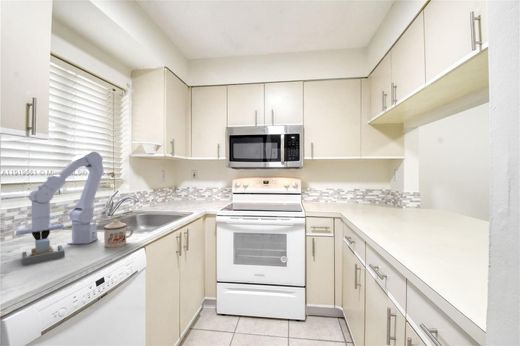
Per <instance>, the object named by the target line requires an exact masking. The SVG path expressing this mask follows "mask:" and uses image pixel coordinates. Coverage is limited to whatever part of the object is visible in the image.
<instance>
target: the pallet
mask: <svg viewBox="0 0 520 346" xmlns="http://www.w3.org/2000/svg"><path fill="white" fill-rule="evenodd" d="M30 252H31V256H35V255H40V254H45V253H50V252H54V249H53V247H52V245H50V250H46V251H41V252H36V250H35V248H31V251H30Z"/></svg>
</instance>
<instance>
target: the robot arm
mask: <svg viewBox="0 0 520 346" xmlns="http://www.w3.org/2000/svg"><path fill="white" fill-rule="evenodd" d="M81 167H85V168H86V169H87V170H88V172H89V173H88V177H87V178H86V181H85V184H84V187H83V189H82V193H81V195H80V198H79V200H78V203H76V204H75V205H74V208H73V209H72V210H71V211H70V213H69V215H68V217H69V220H70V221H71V241H68V242H67V243H66V244H67V245H73V244H74V245H77V244H78V245H79V244H83V245H84V244H85V245H86V244H89V243H92V242H94V241H96V240H98V239H99V238H98V225H97V224H96V223H94V222H91V221H93V218H94V206H93V202H94V200H95V197H96V193H97V191H98V189H99V185H100V182H101V179H102V176H103V173H104V166H103V157H102V156H101V154H100V153H99V152H97V151H82V152H80V153H78V155H76V156H74V157H73V159H72V160H71V161H70V162H69V163H68V164H67V165H66V166H65V167H64V168H63V169H62V170H61V171H60V172H59V173H58V174H52V175H51V176H50V175H49V176H47V178H46V179H47V180H45V181H44V182H43V183H42V184H41V185H37V188H36V189H33V190H32V191H31V192H30V194H29V196H28V199H29V201H31V227H29V228H28V227H26V228H22V229H16V230H15V236H21V235H22V236H23V235H28V234H32V236H33V238H34V240H40V239H46V238H49V235H50V234H51V231H57V230H64V224H63V223H62V224H61V223H60V224H51V205H50V204H51V201H52V200H53V198H54V195H55V193H57V191H59V190H60V189H61V188H62V187H63V186H64V185H65V184H66V180H67V178H68V177H70V176H71V175H73V173H75V172H76V171H77V170H78V169H80V168H81Z"/></svg>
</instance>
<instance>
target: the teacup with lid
mask: <svg viewBox="0 0 520 346" xmlns="http://www.w3.org/2000/svg"><path fill="white" fill-rule="evenodd" d="M103 230H104V234H103V235H104V237H103V238H104V244H103V245H104V247H105V248H119V247H122V246H124V245H126V244H127V239H129V238H130V237H132V235H133V234H134V228H133V227H131V226H127V223H124V222H121V221H119V220H118V219H113V221H112V222H110V223H108V224H106V225H104V226H103ZM127 230H130V231H131V232H130V233H129V235H127Z"/></svg>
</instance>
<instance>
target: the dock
mask: <svg viewBox="0 0 520 346" xmlns="http://www.w3.org/2000/svg"><path fill="white" fill-rule="evenodd" d="M65 251H66V250H65V249H64V248H63V246H62V245H60V244H59V245H57V250H56V251H53V252H50V253H45V254H40V255H35V256H32V255H30V256H28V255H27V251H23V252H22V259H21V260H22V265H23V266H27V265H31V264H36V263H40V262H46V261H49V260H50V261H51V260H55V259H59V258H64V257H65V254H66V252H65Z"/></svg>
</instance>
